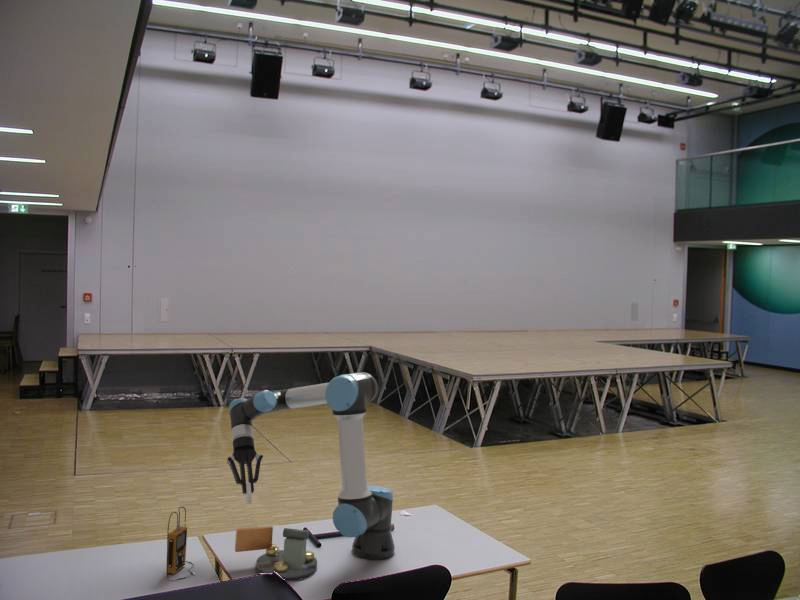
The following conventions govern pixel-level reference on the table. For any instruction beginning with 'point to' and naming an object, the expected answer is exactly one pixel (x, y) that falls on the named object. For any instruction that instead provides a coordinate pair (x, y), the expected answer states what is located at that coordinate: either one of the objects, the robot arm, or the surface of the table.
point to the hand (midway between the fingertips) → (249, 501)
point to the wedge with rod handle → (295, 547)
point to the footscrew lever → (256, 540)
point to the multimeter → (176, 547)
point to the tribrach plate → (291, 573)
